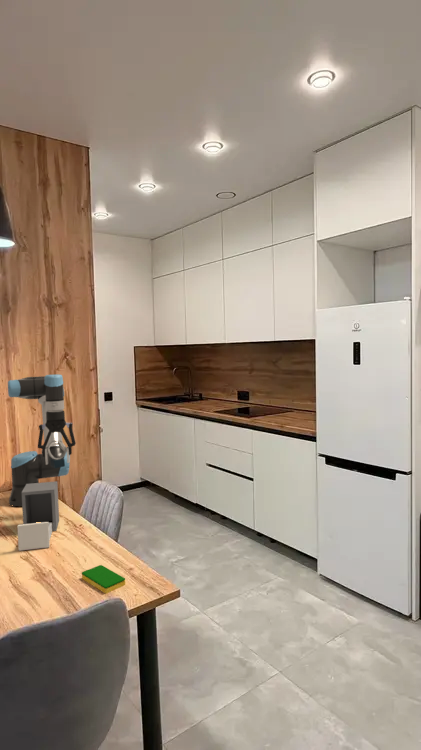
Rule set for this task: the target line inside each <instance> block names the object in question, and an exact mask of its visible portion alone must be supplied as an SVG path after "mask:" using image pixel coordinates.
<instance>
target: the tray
mask: <svg viewBox="0 0 421 750" xmlns="http://www.w3.org/2000/svg"><path fill="white" fill-rule="evenodd" d="M52 534H53V522H41V523H31V524H18V525H17V542H18V544H17V545H18V546H17V547H18V551H19V552H20V551H28V550H36V549H37V550H38V549H45V548H46V549H48V548H50V546H51V545H50V539H51V537H52Z"/></svg>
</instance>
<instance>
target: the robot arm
mask: <svg viewBox="0 0 421 750" xmlns="http://www.w3.org/2000/svg"><path fill="white" fill-rule="evenodd" d="M64 388H65V387H64V378H63V375H62V374H46V375H45V376H41V375H40V376H28V377H22V378H19V379H10V380H8V381H7V393H8V394H7V395H8V397H10V398H18V399H23V400H24V399H25V400H37V402H38V403H39V404H40V405H41V414H42V415H41V416H42V424H39V426H38V428H39V434H38V441H37V449H41V453H38V452H37V451H36V450H33V451H32V450H31V451H29V450H28V451H25V452H21V453H18V454H15V455H14V456H13V457H12V458H11V460H10V462H11V464H10V469H11V484H12V486H11V487H12V488H11V491H10V495H9V499H8V504H10V505H13V506H22V491H23V489H24V487H25V486H26V484H32V483H40V482H39V479H48V478H56V477H57V478H60V477H64V476H67V475H68V474H69V473H70V465H71V464H70V463H71V455H72V454H73V453H72V448H73V447H74V446H76V443H77V442H76V440H75V439H76V438H75V435H74V431H73V422H66V418H65V417H66V416H65V400H64V399H65V398H64V397H65V389H64ZM65 427H67V428H68V432H69V436H70V439H71V441H70V439H69V437H68V435H67V433H66V431H65V429H64V428H65ZM56 440H57V441H62V442H63V440H64V442H65V443H66V446H67V447H66V448H67V450H66V451H67V452H66V454H65V456H64V457H63V459H64V461H65V466H64V467H59V468H54V467H52V466H51V461H50V459H51V457H50V456H49V454H48V452H47V448H48V445H49V444H50V443H51V442H52V441H56ZM43 442H44V443H43ZM64 442H63V443H64ZM49 449H50V452H51V454H52V456H53V457H54V458H57V457H60V456H61V455H62V454H63V452H64V451H63V450H62V449H61V448H60V447H59V445H58V442H55V443H53V444H52V445H51V446H50V448H49ZM10 505H9V506H10ZM13 506H12V507H13Z"/></svg>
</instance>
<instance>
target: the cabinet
mask: <svg viewBox="0 0 421 750" xmlns="http://www.w3.org/2000/svg"><path fill="white" fill-rule="evenodd" d="M58 490H59V487H58V481H55V480H54V481H46V482H45V481H43V482H39V483H32V484H26V486H25V487H24V489H23V491H22V507H21V508H22V509H21V510H22V523H23V524H31V523H36V522H48V523H50V522H49V521H52V532H57V530H58V526H59V524H60V523H59V522H60V507H59V491H58Z"/></svg>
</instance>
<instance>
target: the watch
mask: <svg viewBox="0 0 421 750" xmlns="http://www.w3.org/2000/svg"><path fill="white" fill-rule="evenodd" d="M62 441H63V440H62ZM62 441H57V440H56V441H52V442H51V443H50V444H49V445H48V448H47V452H48V454H49V456H50V457H51V459H50V461H51V466H52V467H54V468H59V467H64V466H65V461H64V459H63V457H64V456H65V454H66V452H67V451H66V450H67V447H66V446H67V445H65V443H64V442H62ZM55 442H58V445H59V447H60V448H61V449H62V450H63V451H64V452H63V454H62V455H61V456H60V457H57V458H54V457H53V456H52V454H51V452H50V449H49V448H50V446H51V445H52V444H53V443H55Z"/></svg>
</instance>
